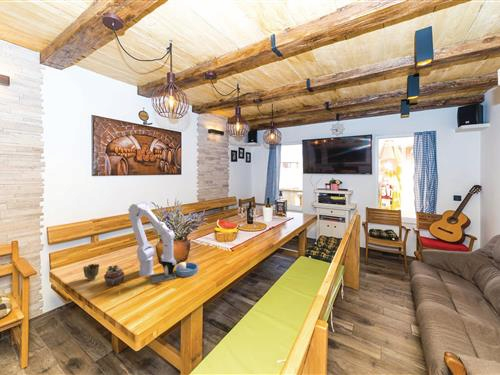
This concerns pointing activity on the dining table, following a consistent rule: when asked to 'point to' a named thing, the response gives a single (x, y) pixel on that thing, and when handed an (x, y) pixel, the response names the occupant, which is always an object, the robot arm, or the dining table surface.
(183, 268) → the white rounded capsule
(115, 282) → the cupcake
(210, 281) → the dining table surface
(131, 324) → the dining table surface
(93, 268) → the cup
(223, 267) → the dining table surface
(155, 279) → the tray
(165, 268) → the cylinder
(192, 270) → the bowl
